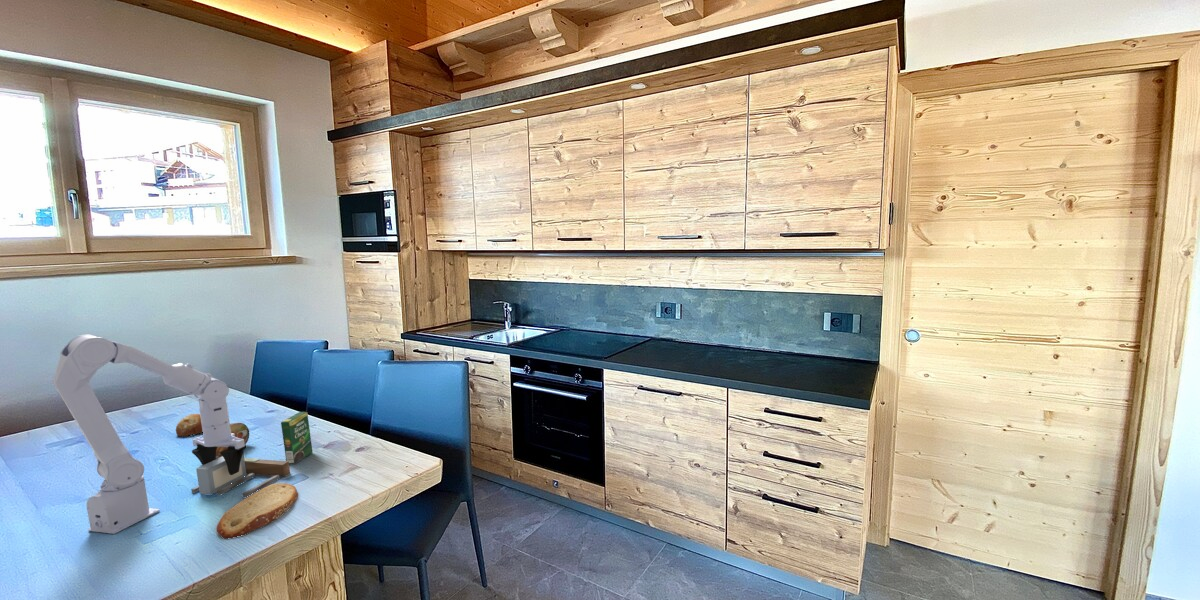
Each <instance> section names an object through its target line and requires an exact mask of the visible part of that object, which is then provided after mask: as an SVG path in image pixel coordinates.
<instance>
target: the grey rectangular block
mask: <svg viewBox="0 0 1200 600" xmlns="http://www.w3.org/2000/svg"><path fill="white" fill-rule="evenodd" d="M244 454H245V453H243V455H242V458H241V462H240V468H239V472H237V473H235V474H233V475H230V474H229V472H228V468H227V464H226V461H225V459H224V458H223V456H222V457H220V458H218V459H216V460H213V461H211V462H209V463H207V464H205V465H202V464H201V465H200V466H198V467H195V470H196V477H197V478H196V479H197V483H198V486H199V491H198V492H199V495H206V494H210V495H209V496H212V495H213V493H214V494H215V493H216V491H218V490H220V489H222V488H224V487H226V486H228V485H230V484H231V483H233V482H235V481H237V480H239V479H241V478H243V477H244V476H246V475H247V474H246V468H245V461H244V458H245V455H244ZM211 494H212V495H211Z"/></svg>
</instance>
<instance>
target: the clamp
mask: <svg viewBox="0 0 1200 600" xmlns="http://www.w3.org/2000/svg"><path fill="white" fill-rule="evenodd" d="M244 461H245V468H246V473H247V474H246V475H247V476H245V477H243V478H241V479H239V480H237V481H235V482H233V483H232V484H230V485H228V486H226V487H224V488H222V489H220V490H218V491H216V492H215V493H216V496H222V495H224V494H226V493H228V492H229V491H231V490H233V489H235V488H237V487H238V486H237V485H239V484H240V485H242V484H244V483H246V482H248V481H249V479H250V480H251V478H252V477H254V478H255V477H256V475H255V474H259V475H258V476H267V475H269V476H270V478H268V479H266V480H264V481H262V482H260V483H258V484H256V485H255V486H253V487H251V488H250V489H248V490H246V491H244V492H243V493H242V494H241V497H242V498H243V497H246V498H247V496H248V497H249V495H251V494H252V493H253V494H254V492H256V491H257V490H259V489H260V490H261V488H262V489H263V487H264V488H265V486H266V487H267V486H269V485H271V484H273V483H274V482H276V481H277V479H278V480H280V479H279V478H280V477H279V476H282V477H283V476H285V477H287V476H288V475H290V474H291V470H290V469H291V468H290V464H289V461H286V460H273V459H261V458H250V457H249V458H248V457H247V458H246V457H244ZM286 475H287V476H286ZM269 476H268V477H269ZM282 477H281V478H282ZM283 478H284V477H283ZM252 479H253V478H252ZM247 480H248V481H247ZM245 481H246V482H245ZM243 482H244V483H243ZM272 482H273V483H272ZM241 483H242V484H241ZM240 485H239V486H240ZM236 486H237V487H236ZM234 487H235V488H234ZM232 488H233V489H232ZM260 490H259V491H260ZM198 492H200V491H199V485H197V486H195V487H193V488H191V493H192V494H196V493H198ZM225 492H226V493H225ZM223 493H224V494H223ZM221 494H222V495H221Z"/></svg>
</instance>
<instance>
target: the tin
mask: <svg viewBox="0 0 1200 600" xmlns="http://www.w3.org/2000/svg"><path fill="white" fill-rule="evenodd" d="M248 427H249V426H247V425H246V424H245V423H243V422H234V423H233V422H232V423H230V429H231V433H234V434H235V436H234V437H237V438H239V439H244V444H245V445H246V446H247V443H248V441H249V439H250V429H249V428H248ZM226 449H228V447H217V450H216V459H218V458H220V457H222V455H221V454H220V452H222V451H224V450H226Z"/></svg>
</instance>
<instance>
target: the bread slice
mask: <svg viewBox="0 0 1200 600" xmlns="http://www.w3.org/2000/svg"><path fill="white" fill-rule="evenodd" d="M298 495H299V492H298V490H297V488H296V486H295V485H293V484H291V483H287V482H285V483H283V482H278V483H271V484H269V485H267V486H266V487H264V488H262V489H260V490H259V491H257V492H255V493H253V494H252V495H250V496H248V497H246V498H244V499H242V500H241V501H239V502H238V503H237V504H235V505H234V506H233V507H231V508H229V509H227V511H225V512H224V513H223V515H222V516H221V518H220V519H219V521H218V523H217V525H216V527H215V529H216V533H217V534H218V536H219V537H221V538H222V539H223V538H224V539H223V540H229V539H228V538H231V539H234V538H233V537H236V538H238V537H237V536H241V535H244V536H246V535H248V534H250V533H252V532H254V531H256V530H259V529H262V528H264V527H266V526H268V525H270V524H271V522H272V521H273V522H275V521H277V518H278V519H279V518H280V516H281V515H282V514H283V513H284V514H285V512H286V511H287V510H288V509H289V508H290V507H291V508H292V506H293V505H294V504H295V503H296V501H297V499H298ZM294 502H295V503H294ZM293 503H294V504H293ZM291 505H292V506H291ZM291 508H290V509H291ZM290 509H289V510H290ZM289 510H288V511H289ZM288 511H287V512H288ZM287 512H286V513H287ZM284 514H283V515H284ZM283 515H282V516H283ZM282 516H281V517H282ZM274 520H275V521H274ZM273 522H272V523H273ZM269 523H270V524H269ZM263 526H264V527H263ZM261 527H262V528H261ZM249 532H250V533H249ZM247 533H248V534H247ZM245 534H246V535H245ZM241 537H242V536H241Z"/></svg>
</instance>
